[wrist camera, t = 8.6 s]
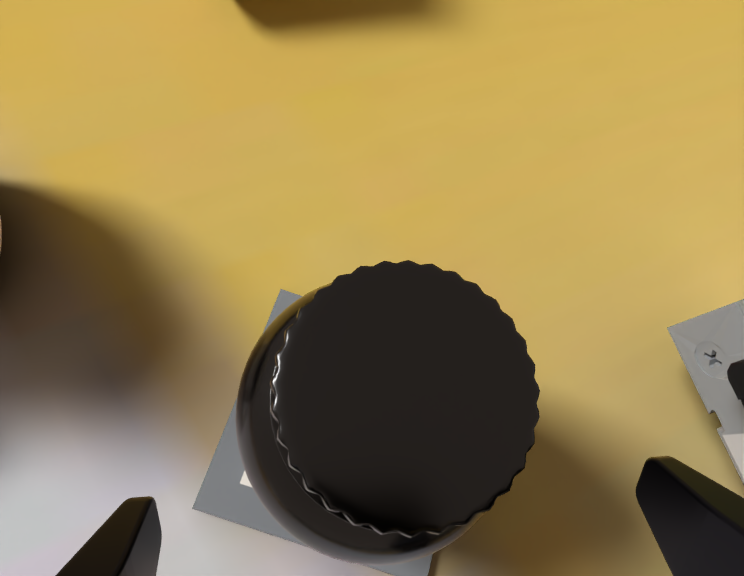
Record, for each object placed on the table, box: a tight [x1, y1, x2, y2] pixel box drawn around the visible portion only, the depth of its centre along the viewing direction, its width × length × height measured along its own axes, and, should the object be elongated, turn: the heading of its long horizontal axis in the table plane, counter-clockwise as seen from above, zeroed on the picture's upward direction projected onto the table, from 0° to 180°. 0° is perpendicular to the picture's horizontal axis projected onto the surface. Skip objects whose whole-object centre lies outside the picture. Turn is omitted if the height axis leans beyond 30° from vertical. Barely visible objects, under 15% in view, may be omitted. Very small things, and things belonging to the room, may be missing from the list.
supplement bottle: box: [236, 260, 540, 566], centre depth 14 cm, size 7×7×12 cm
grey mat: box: [192, 289, 433, 576], centre depth 20 cm, size 9×9×1 cm
